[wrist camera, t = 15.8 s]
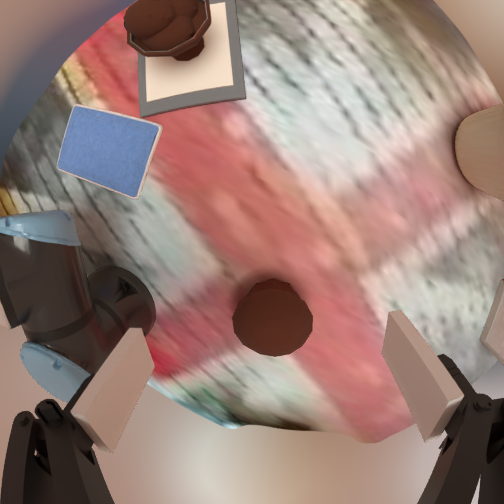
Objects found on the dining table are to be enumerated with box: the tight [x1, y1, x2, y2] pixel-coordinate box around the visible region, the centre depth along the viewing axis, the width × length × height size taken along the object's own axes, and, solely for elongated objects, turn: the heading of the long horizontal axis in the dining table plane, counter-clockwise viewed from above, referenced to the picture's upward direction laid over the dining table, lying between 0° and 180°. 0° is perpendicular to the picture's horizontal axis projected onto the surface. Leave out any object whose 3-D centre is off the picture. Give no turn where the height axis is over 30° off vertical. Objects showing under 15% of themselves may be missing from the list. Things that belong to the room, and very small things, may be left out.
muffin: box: [232, 279, 313, 357], centre depth 40 cm, size 12×11×10 cm
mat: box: [138, 0, 246, 118], centre depth 32 cm, size 16×20×1 cm
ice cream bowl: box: [124, 0, 211, 61], centre depth 24 cm, size 11×11×15 cm
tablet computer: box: [57, 104, 163, 199], centre depth 38 cm, size 19×13×1 cm, turn 68°
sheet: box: [145, 2, 234, 103], centre depth 31 cm, size 13×16×1 cm
